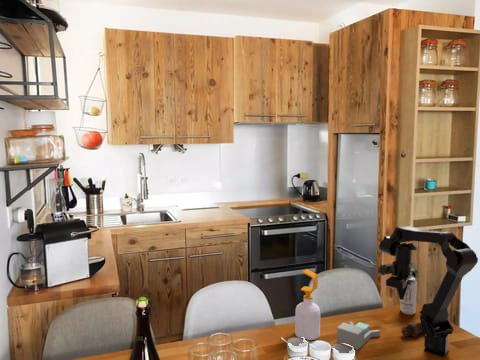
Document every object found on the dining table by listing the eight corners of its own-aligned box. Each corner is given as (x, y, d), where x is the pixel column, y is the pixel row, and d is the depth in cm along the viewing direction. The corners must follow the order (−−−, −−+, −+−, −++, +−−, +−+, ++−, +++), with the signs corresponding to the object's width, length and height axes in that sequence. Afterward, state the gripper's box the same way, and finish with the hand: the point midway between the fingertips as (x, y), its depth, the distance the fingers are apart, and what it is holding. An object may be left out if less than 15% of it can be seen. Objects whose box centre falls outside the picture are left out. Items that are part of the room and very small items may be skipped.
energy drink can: (398, 312, 172) (399, 278, 170) (402, 308, 177) (403, 274, 175) (413, 316, 168) (415, 281, 167) (417, 311, 173) (418, 277, 172)
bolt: (402, 341, 152) (431, 332, 158) (411, 339, 148) (441, 330, 154) (396, 325, 154) (425, 316, 160) (405, 323, 150) (434, 314, 156)
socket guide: (380, 335, 152) (381, 320, 151) (363, 351, 140) (364, 336, 140) (349, 326, 160) (350, 311, 159) (331, 340, 148) (331, 325, 147)
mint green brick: (369, 335, 153) (369, 325, 152) (355, 348, 143) (356, 337, 143) (358, 332, 155) (359, 322, 155) (345, 344, 146) (345, 333, 145)
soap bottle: (300, 327, 158) (301, 265, 156) (323, 333, 154) (324, 269, 151) (291, 336, 151) (292, 272, 148) (314, 343, 146) (316, 276, 144)
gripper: (390, 250, 166) (389, 287, 168) (372, 260, 152) (371, 301, 154) (419, 255, 159) (417, 294, 161) (403, 266, 145) (401, 309, 147)
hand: (401, 299), depth 156 cm, fingers closed
